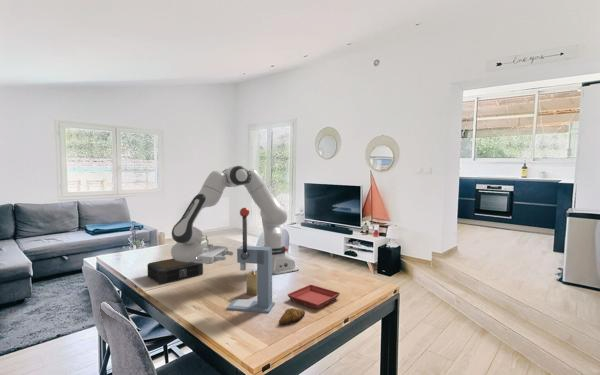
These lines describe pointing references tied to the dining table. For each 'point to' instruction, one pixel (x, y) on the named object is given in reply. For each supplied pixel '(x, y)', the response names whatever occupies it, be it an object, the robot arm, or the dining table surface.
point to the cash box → (173, 270)
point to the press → (264, 280)
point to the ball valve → (204, 240)
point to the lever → (244, 232)
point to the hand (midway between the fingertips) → (229, 255)
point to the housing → (252, 283)
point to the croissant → (291, 316)
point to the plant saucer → (313, 296)
